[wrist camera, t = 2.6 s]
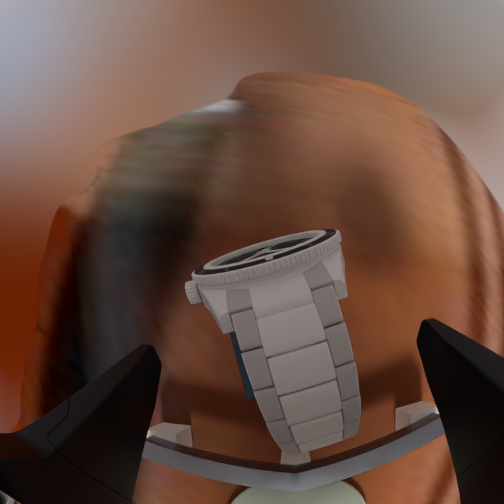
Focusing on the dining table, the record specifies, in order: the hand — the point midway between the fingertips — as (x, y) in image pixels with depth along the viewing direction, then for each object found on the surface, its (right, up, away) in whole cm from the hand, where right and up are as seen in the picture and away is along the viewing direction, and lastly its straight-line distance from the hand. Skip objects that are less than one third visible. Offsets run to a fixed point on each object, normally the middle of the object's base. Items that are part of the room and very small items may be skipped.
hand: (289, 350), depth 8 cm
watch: (+1, -3, +8) cm, 8 cm away
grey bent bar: (+1, -7, +3) cm, 8 cm away
